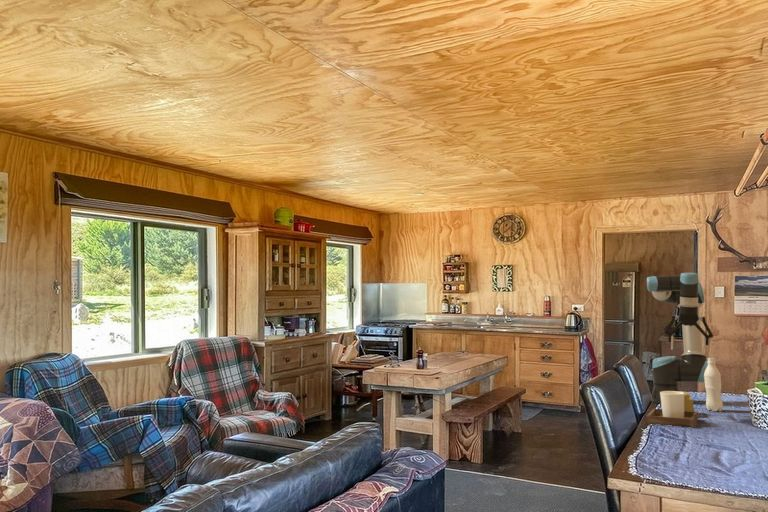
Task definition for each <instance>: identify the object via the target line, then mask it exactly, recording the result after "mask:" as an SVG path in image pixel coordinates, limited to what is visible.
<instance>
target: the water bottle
mask: <svg viewBox="0 0 768 512" xmlns="http://www.w3.org/2000/svg"><path fill="white" fill-rule="evenodd" d="M707 359H708V361H707V363H708V366H707V368H706V370H705V372H704V380H705V382H704V388H705V393H706V401H705V407H706V409H707V411H709V410H711V411H712V412H714V411H716V412H717V411H718V412H722V411H723V409H724V408H723V407H724V403H723V400H722V378H721V377H722V376H721V372H720V370H719V369H718V367H717V366H716V359H715V357H708V358H707Z"/></svg>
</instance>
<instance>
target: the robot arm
mask: <svg viewBox="0 0 768 512" xmlns="http://www.w3.org/2000/svg"><path fill="white" fill-rule="evenodd" d="M699 281H700V280H699V274H698V273H697V272H682V273H680V274H679V275H677V274H676V275H661V276H660V275H652V276H648V277H646V288H647V291H648V292H651V295H652V296H653V298H654V299H655V300H656V301H658V302H661V303H665V304H671V305H672V304H674V305H675V304H677V307H678V308H679V315H676V314H672V316H671V318H672V319H671V320H670V322H669V324H668V325H667V327H666V329H665V330H664V332H663V334H664V335H667V337H668V339H667V340H668V343H670V350H672V351H673V349H674V333H675V332H676V331H677V330H678V329H680V327H681V330H682V343H683V344H682V345H683V353H681V355H680V358H677V356H675V355H672V356H671V355H667V356H660V357H656V358H653V359H652V366H651V367H652V368H651V369H652V379H653V381H652V382H653V388H652V391H651V392H652V393H651V395H650V401H651V403H655V404H661V398H660V392H661V391H678V392H679V391H681V390H680V388H679V383H697V384H700V383H705V380H704V372H705V370H706V368H707V366H708V363H707V361H708V358H707V356H706V354H704V353H706V350H707V349H706V348H707V347H706V346H709V339H710V338H713V337H714V334H713V332H712V331H711V329H710V326H709V325H708V323H707V320H706V316H701V315H700V308H702V307H703V304H704V303H705V294H704V290H703V287H702V283H700V282H699ZM677 320H679V323H678V324H677V325H676V326H674V327H673V328H672V326H673V324H674V322H675V321H677ZM701 322H702V324H703V326H704V327H705V330H706V331H707V332H705V330H704V329H703V327H701ZM671 328H672V330H670V329H671ZM702 336H704V337H703V339H702ZM702 340H703V343H702Z"/></svg>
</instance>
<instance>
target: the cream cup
mask: <svg viewBox="0 0 768 512" xmlns="http://www.w3.org/2000/svg"><path fill="white" fill-rule="evenodd" d="M683 392H684V391H683ZM683 392H678V391H661V392H660V398H661V403H660V405H661V409H662V414H663V417H672V418H684V393H683Z"/></svg>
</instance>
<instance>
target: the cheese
mask: <svg viewBox="0 0 768 512" xmlns="http://www.w3.org/2000/svg"><path fill="white" fill-rule="evenodd" d="M679 392H683V393H684V411H693V412H696V410H695V408H694V400H693V398H692V396H691V395H690V394H689V393H688V392H685V391H682V390H680V391H679Z"/></svg>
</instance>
